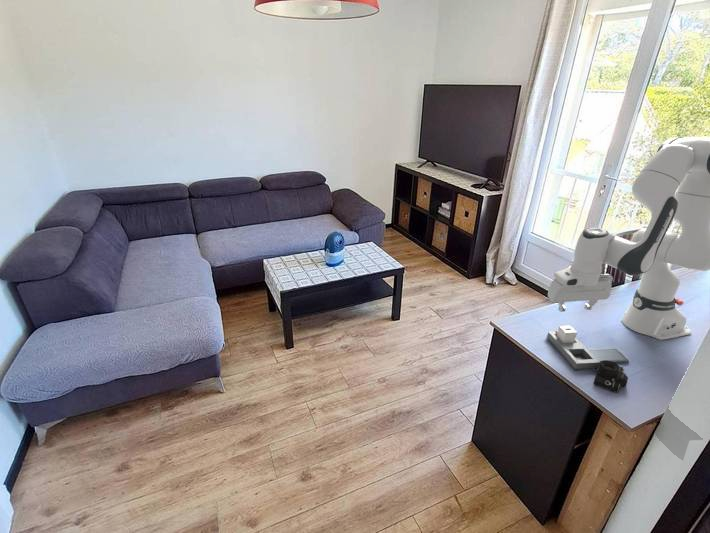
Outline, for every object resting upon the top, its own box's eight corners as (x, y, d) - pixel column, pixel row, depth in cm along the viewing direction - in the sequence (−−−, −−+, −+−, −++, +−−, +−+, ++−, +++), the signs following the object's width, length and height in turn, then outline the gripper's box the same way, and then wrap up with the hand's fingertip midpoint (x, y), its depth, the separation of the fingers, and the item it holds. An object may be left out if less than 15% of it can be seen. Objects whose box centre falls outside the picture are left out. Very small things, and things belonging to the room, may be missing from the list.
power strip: (567, 337, 140) (569, 329, 138) (597, 369, 124) (600, 360, 122) (546, 338, 139) (548, 330, 138) (574, 370, 123) (577, 361, 122)
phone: (615, 351, 132) (616, 348, 131) (628, 363, 126) (629, 360, 126) (580, 352, 131) (581, 350, 131) (592, 364, 126) (592, 362, 125)
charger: (566, 339, 137) (570, 324, 134) (572, 346, 133) (577, 331, 131) (555, 340, 137) (559, 325, 134) (561, 347, 133) (565, 332, 130)
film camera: (600, 348, 125) (635, 357, 117) (601, 367, 127) (636, 377, 119) (583, 367, 118) (619, 377, 110) (584, 387, 120) (619, 398, 112)
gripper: (607, 269, 126) (597, 303, 132) (549, 273, 125) (542, 306, 132) (620, 277, 120) (609, 312, 127) (559, 281, 120) (551, 316, 126)
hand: (574, 309), depth 129 cm, fingers open, 8 cm apart
